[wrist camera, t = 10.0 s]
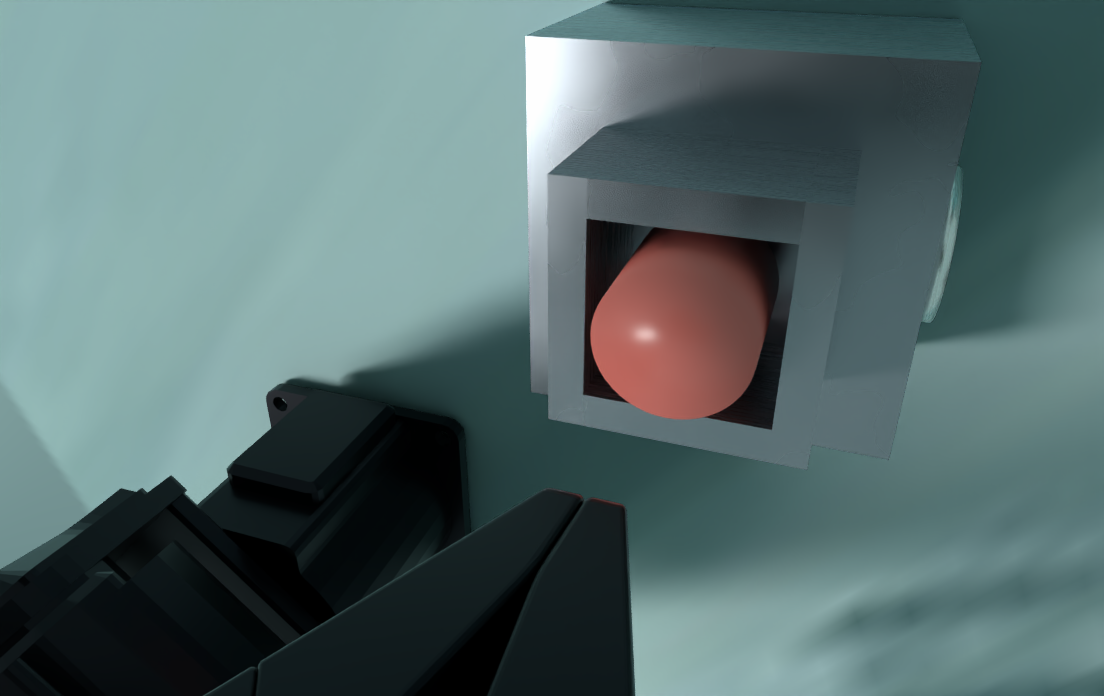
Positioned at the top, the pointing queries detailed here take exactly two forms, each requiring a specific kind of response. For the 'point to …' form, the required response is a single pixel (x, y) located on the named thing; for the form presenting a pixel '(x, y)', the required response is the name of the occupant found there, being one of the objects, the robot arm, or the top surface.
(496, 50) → the top surface
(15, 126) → the top surface
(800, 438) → the grey piece
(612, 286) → the plunger
